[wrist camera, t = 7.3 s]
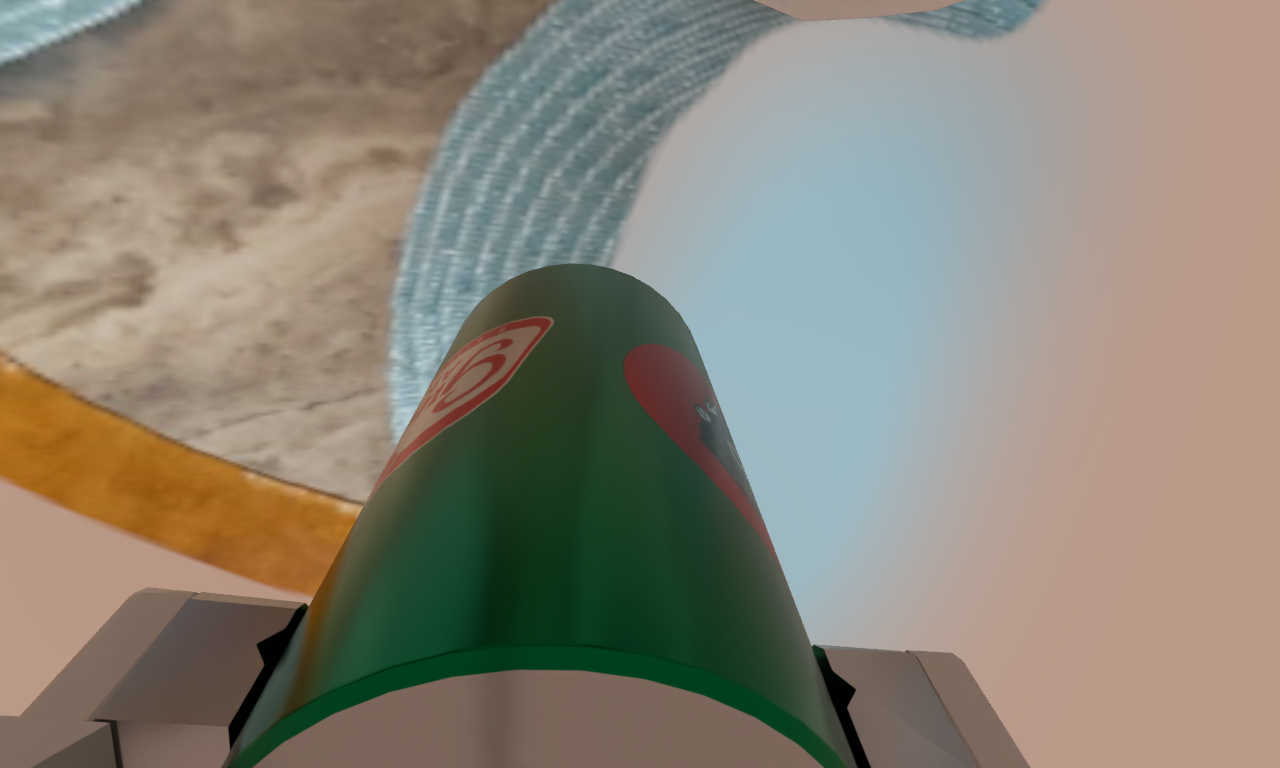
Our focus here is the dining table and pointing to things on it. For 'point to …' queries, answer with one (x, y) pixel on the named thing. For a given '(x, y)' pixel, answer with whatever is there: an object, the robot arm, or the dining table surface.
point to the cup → (852, 8)
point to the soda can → (555, 567)
